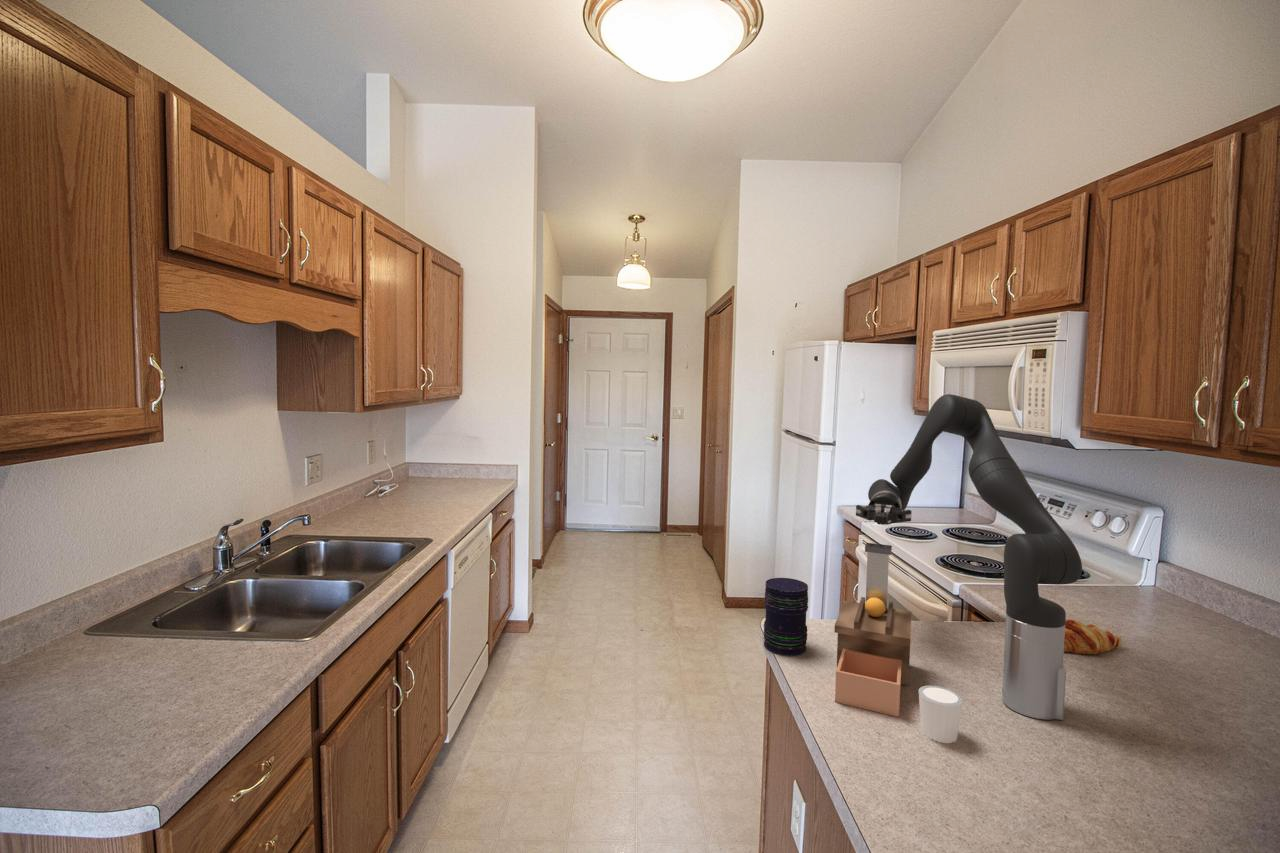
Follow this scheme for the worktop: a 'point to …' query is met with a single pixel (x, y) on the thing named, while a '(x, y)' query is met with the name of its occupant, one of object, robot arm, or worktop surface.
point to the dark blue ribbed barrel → (785, 616)
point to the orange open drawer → (869, 682)
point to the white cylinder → (940, 713)
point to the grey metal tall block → (877, 571)
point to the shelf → (875, 633)
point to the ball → (875, 607)
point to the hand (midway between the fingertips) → (880, 520)
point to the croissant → (1088, 638)
